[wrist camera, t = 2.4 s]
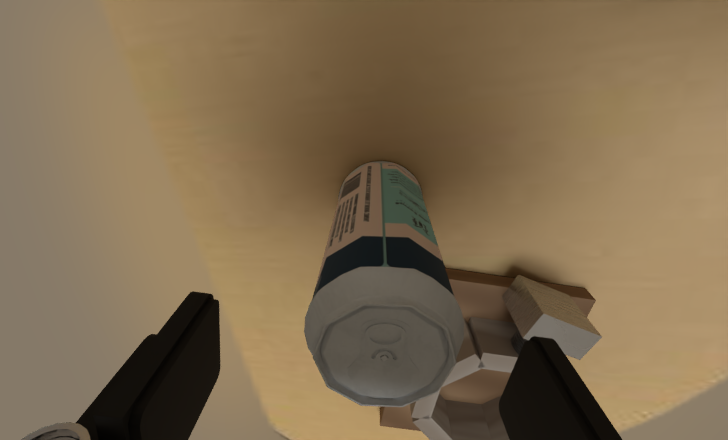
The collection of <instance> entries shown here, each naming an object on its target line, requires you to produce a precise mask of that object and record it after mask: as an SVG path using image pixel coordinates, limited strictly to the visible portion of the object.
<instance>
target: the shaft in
mask: <svg viewBox="0 0 728 440" xmlns="http://www.w3.org/2000/svg"><path fill="white" fill-rule="evenodd" d="M502 299H503V301H504V302H505V304H506V306H507V308H508V310H509V312H510V314H511V316H512V318H513V320H514V322H515V324H516V326H517V328H518V330H517V332H516V333H515V334H514V335H513V337H512V338H511V344H512V346H513V348H514V349H515V351H516V352H517V353H518V354H520V351H521V349H522V347H523V344H524V342H525V341H526V340H530V338H531V337H533V336H537V337H545V338H552V339H554V340H555V341H556V342H557V344H558V345H559V347H560V348H561V349H562V351H563V352H564V354H566V355H568V356H571V357H573V358H576V359H579V360H580V359H581V358H582V357H583V356H584V355H585V354H586V353H587V352H588V351H589V350H590V349H591V348H592V347H593V346H594V345H595V344H596V343H597V342H598V341H599V340H600V339H601V337H602V336H601V335H600V334H599V332H598V331H597V330H596V329H595V327H594V326H593V325H592V324H591V322H590V321H589V320H588V319H587V317H586V316H585V315H584V314H583V312H582V311H581V310H580V308H579V307H578V306H577V305H576V303H575V302H574V301H573V300H572V298H571V297H570V296H569V295H567V294H565V293H562V292H560V291H557V290H555V289H552V288H550V287H548V286H545V285H543V284H540V283H538V282H535V281H533V280H531V279H528V278H526V277H523V276H521V275H518V276H517V277H516V278H515V280H514V281H513V282H512V284H511V285H510V286H509V288H508V289H507V290H506V292H505V293H504V294H503V296H502Z"/></svg>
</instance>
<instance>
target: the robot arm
mask: <svg viewBox="0 0 728 440" xmlns="http://www.w3.org/2000/svg"><path fill="white" fill-rule="evenodd" d="M219 371H220V330H219V301H218V300H214V299H213V295H212V294H207V293H199V292H191V293H190V294H189V295H188V296H187V297H186V298H185V300H184V301H183V302H182V303H181V305H180V306H179V307H178V309H177V310H176V311H175V312H174V314H173V315H172V316H171V317H170V319H169V320H168V321H167V323H166V324H165V325H164V326H163V328H162V329H161V330H160V331H159V333H158V334H157V335H155V334H151V335H149V336H147V338H146V339H144V340H143V342H142V343H141V344H140V345H139V347H138V348H137V349H136V350H135V351H134V353H133V354H132V355H131V356H130V357H129V359H128V360H127V361H126V362H125V364H124V365H123V366H122V367H121V368H120V370H119V371H118V372H117V373H116V374H115V376H114V377H113V378H112V379H111V381H110V382H109V383H108V384H107V385H106V387H105V388H104V389H103V390H102V392H101V393H100V394H99V395H98V397H97V398H96V399H95V400H94V402H93V403H92V404H91V405H90V406H89V407H88V409H87V410H86V411H85V412H84V413H83V415H82V416H81V417H80V418H79V420H78V421H77V422H76V423H71V422H66V423H56V424H53V425H50V426H46V427H43V428H41V429H39V430H37V431H35V432H33V433H31V434H29V435H27V436H26V437H24V438H23V439H21V440H188V438H189V437H190V435H191V432H192V430H193V428H194V426H195V424H196V422H197V420H198V418H199V416H200V414H201V412H202V410H203V408H204V406H205V403H206V402H207V399H208V397H209V395H210V393H211V391H212V389H213V387H214V385H215V383H216V381H217V378H218V375H219ZM499 412H500V416H501V418H502V421H503V424H504V426H505V429H506V432H507V434H508V437H509V440H622V439H621V437H620V436H619V434H618V433H617V431H616V430H615V428H614V427H613V425H612V424H611V422H610V421H609V419H608V418H607V416H606V415H605V413H604V412H603V410H602V409H601V407H600V406H599V404H598V403H597V401H596V400H595V398H594V397H593V395H592V394H591V392H590V391H589V390H588V388H587V387H586V385H585V384H584V382H583V381H582V379H581V378H580V376H579V375H578V373H577V372H576V370H575V369H574V367H573V366H572V364H571V363H570V361H569V360H568V358H567V357H566V355H565V354H564V352H563V351H562V349H561V348H560V347H559V345H558V344H557V342H556V341H555V340H554V339H552V338H545V337H537V336H533V337H531V338H530V340H526V341H525V342H524V344H523V347H522V349H521V351H520V354H519V356H518V358H517V361H516V363H515V365H514V368H513V370H512V372H511V375H510V377H509V379H508V382H507V384H506V386H505V389H504V391H503V394H502V396H501V398H500V401H499Z"/></svg>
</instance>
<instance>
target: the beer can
mask: <svg viewBox="0 0 728 440" xmlns="http://www.w3.org/2000/svg"><path fill="white" fill-rule="evenodd" d="M304 332H305V337H306V341H307V345H308V349H309V350H310V352H311V353H312V355H313V359H314V361H315V363H316V365H317V367H318V369H319V371H320V373H321V375H322V377H323V379H324V381H325V383H326V386H327V387H328V388H330V389H332V390H333V391H335V392H337V393H339V394H341V395H343V396H344V397H346V398H348V399H350V400H352V401H354V402H355V403H357V404H359V405H361V406H383V407H404V406H406V405H409V404H411V403H413V402H416V401H418V400H420V399H423V398H425V397H427V396H430V395H432V394H434V393H437V392H438V391H439V390H440V388H441V387H442V385H443V384H444V382H445V380H446V379H447V377H448V376H449V374H450V372H451V371H452V369H453V368H454V366H455V365H456V363H457V361H456V358H457V355H458V353H459V351H460V348H461V345H462V343H463V340H464V319H463V315H462V311H461V308H460V306H459V305H458V303H457V301H456V299H455V297H454V294H453V291H452V288H451V285H450V282H449V279H448V275H447V272H446V269H445V266H444V263H443V260H442V257H441V254H440V250H439V247H438V244H437V241H436V238H435V235H434V232H433V228H432V225H431V222H430V219H429V216H428V213H427V210H426V207H425V203H424V200H423V195H422V191H421V187H420V185H419V183H418V181H417V179H416V178H415V177H414V175H413V174H412V173H410V172H409V171H408V170H407V169H406V168H404V167H402V166H400V165H398V164H396V163H393V162H386V161H376V162H369V163H366V164H363V165H361V166H359V167H358V168H356V169H355V170H354V171H352V172H351V173H350V174H349V175H348V176H347V177H346V179H345V180H344V182H343V184H342V186H341V189H340V192H339V198H338V204H337V208H336V211H335V215H334V219H333V223H332V227H331V230H330V234H329V238H328V242H327V246H326V249H325V253H324V257H323V261H322V265H321V268H320V272H319V276H318V280H317V284H316V287H315V291H314V295H313V299H312V302H311V303H310V305H309V308H308V311H307V314H306V317H305V329H304Z"/></svg>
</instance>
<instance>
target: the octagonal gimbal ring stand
mask: <svg viewBox="0 0 728 440" xmlns="http://www.w3.org/2000/svg"><path fill="white" fill-rule="evenodd" d="M445 269H446V272H447V275H448V279H449V282H450V285H451V288H452V291H453V294H454V297H455V299H456V301H457V303H458V305H459V306H460V308H461V311H462V315H463V319H464V340H463V343H462V345H461V348H460V351H459V353H458V355H457V358H456V361H457V363H456V365H455V366H454V368H453V369H452V371H451V372H450V374H449V376H448V377H447V379H446V380H445V382H444V384H443V385H442V387H441V388H440V390H439V391H438V392H437V393H434V394H432V395H430V396H427V397H425V398H423V399H420V400H418V401H416V402H413V403H411V404H409V405H406V406H404V407H383V406H381V409H380V426H386V427H394V428H402V429H409V430H417V431H422V432H423V433H424V434H425V435H426V436H427V437H428V438H429V439H430V440H509V437H508V434H507V432H506V429H505V426H504V424H503V421H502V418H501V416H500V412H499V401H500V398H501V396H502V394H503V391H504V389H505V386H506V384H507V382H508V379H509V377H510V375H511V372H512V370H513V368H514V365H515V363H516V361H517V358H518V356H519V354H518V353H517V352H516V351H515V349H514V348H513V346H512V344H511V338H512V337H513V335H514V334H515V333H516V332H517V330H518V328H517V326H516V324H515V322H514V320H513V318H512V316H511V314H510V312H509V310H508V308H507V306H506V304H505V302H504V301H503V299H502V296H503V294H504V293H505V292H506V290H507V289H508V288H509V286H510V285H511V284H512V282H513V281H514V280H515V278H510V277H503V276H496V275H489V274H482V273H475V272H468V271H462V270H455V269H448V268H445ZM535 282H537V281H535ZM538 283H540V284H543V285H545V286H548V287H550V288H552V289H555V290H557V291H560V292H562V293H565V294H567V295H569V296H570V297H571V298H572V300H573V301H574V302H575V303H576V305H577V306H578V307H579V308H580V310H581V311H582V312H583V314H584V315H585V316H586V317H587V316H588V314H589V312H590V310H591V308H592V307H593V305H594V303H595V301H596V300H595V299H594V298H593V297H592V295H591V294H590V293H589V292H588V291H587V290H586V289H585V288H578V287H572V286H565V285H558V284H551V283H544V282H538ZM565 355H566V354H565Z"/></svg>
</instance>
